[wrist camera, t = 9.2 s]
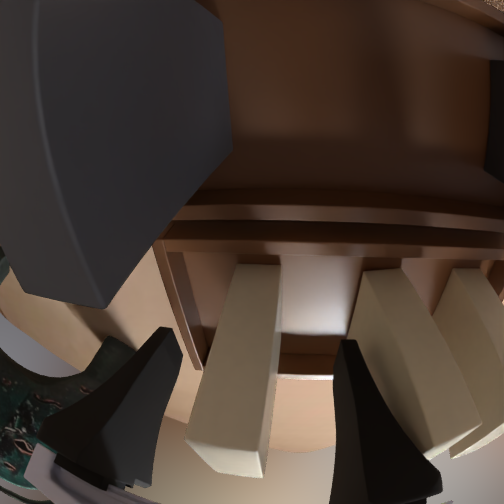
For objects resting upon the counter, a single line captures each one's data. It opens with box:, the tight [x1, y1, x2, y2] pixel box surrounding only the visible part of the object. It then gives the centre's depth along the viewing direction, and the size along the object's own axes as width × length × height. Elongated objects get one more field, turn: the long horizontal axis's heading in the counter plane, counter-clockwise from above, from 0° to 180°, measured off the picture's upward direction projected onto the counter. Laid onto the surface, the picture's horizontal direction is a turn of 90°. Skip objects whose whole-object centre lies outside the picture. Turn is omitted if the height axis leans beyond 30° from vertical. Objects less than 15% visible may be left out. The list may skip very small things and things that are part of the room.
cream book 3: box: [432, 268, 504, 459], centre depth 9 cm, size 2×5×8 cm, turn 4°
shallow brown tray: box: [152, 220, 504, 380], centre depth 12 cm, size 17×9×2 cm, turn 94°
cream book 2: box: [347, 268, 482, 461], centre depth 9 cm, size 2×5×8 cm, turn 4°
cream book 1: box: [184, 264, 282, 478], centre depth 10 cm, size 2×5×8 cm, turn 4°
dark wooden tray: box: [172, 0, 504, 232], centre depth 7 cm, size 17×9×2 cm, turn 94°
